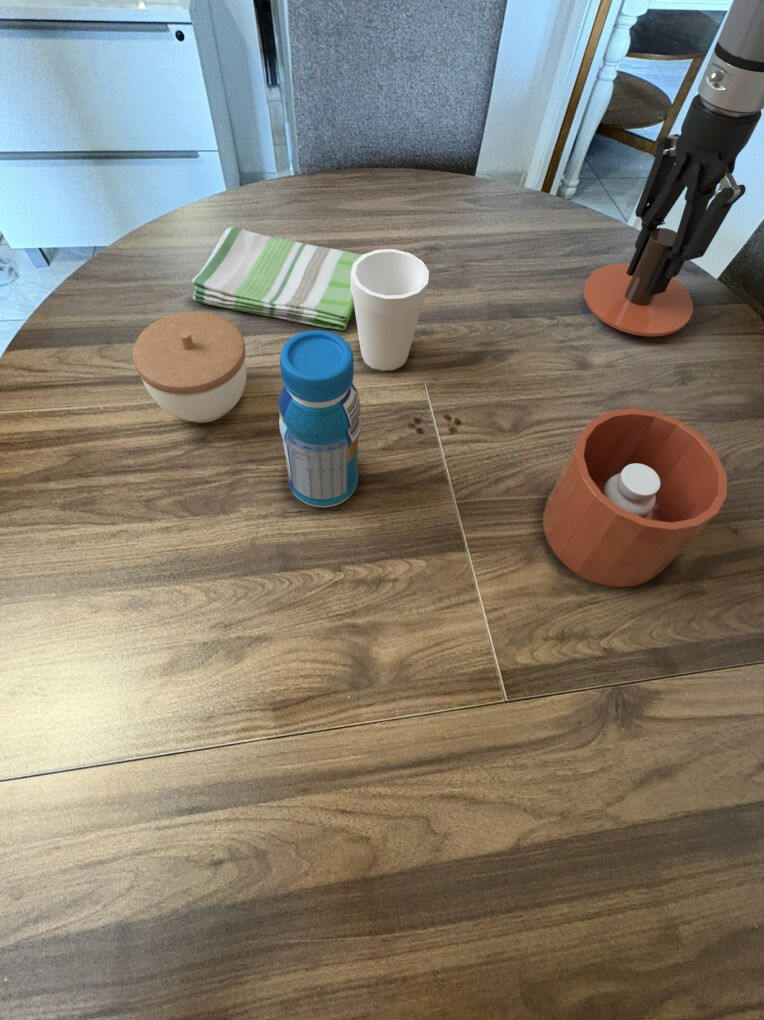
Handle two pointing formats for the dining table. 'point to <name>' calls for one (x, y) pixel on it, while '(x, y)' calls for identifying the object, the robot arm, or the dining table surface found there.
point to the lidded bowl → (192, 365)
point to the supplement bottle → (633, 489)
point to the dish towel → (278, 279)
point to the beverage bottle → (319, 417)
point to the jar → (616, 532)
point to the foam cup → (387, 304)
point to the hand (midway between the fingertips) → (645, 282)
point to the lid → (639, 293)
